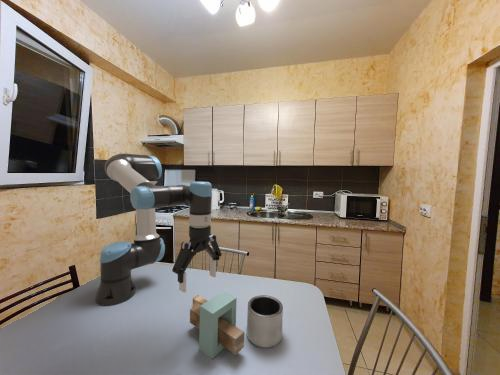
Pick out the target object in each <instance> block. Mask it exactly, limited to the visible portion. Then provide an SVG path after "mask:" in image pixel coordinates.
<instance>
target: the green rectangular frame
mask: <svg viewBox="0 0 500 375" xmlns="http://www.w3.org/2000/svg"><path fill="white" fill-rule="evenodd" d="M219 317H221V318H222V319H224V320H226V321H227V322H229V323H231V324H232V325H234V326H236V327H237V324H236V323H237V297H236V296H234V295H233V294H230V293H227V292H226V291H222V292H220V293H219V294H217V295H216V296H214V297H212V298H211V299H209V300H207V302H206V303H204V304H202V305H201V306H200V329H199V336H198V338H199V341H198V342H199V345H198V347H199V348H198V350H200V351H201V352H202V353H204V354H205V355H206V356H208V357H209V358H210V359H211V360H213V359H214V358H215V357H216V356H217V355H218V354H219V353H221V352H222V351H223V350H224V349H226V348H225V347H223V346H222V345H221V344H219V343H218V342H217V341H218V318H219Z"/></svg>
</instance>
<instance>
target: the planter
mask: <svg viewBox="0 0 500 375" xmlns="http://www.w3.org/2000/svg"><path fill="white" fill-rule="evenodd" d="M283 309H284V306H283V304H282V302H281V301H280V300H279V299H278V298H276V297H273V296H270V295H265V294H263V295H262V294H261V295H256V296H254V297H251V299H249V300H248V302H247V317H246V318H247V319H246V335H247V338H248V339H249V341H250V342H251V344H252V343H253V344H254V345H255V346H258V347H261V348H271V347H272V348H273V347H275V346H276V345H278V344H279V343H280V342H281V340H282V337H283V318H284V317H283V315H284V314H283V313H284V310H283Z"/></svg>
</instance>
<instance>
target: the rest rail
mask: <svg viewBox="0 0 500 375" xmlns="http://www.w3.org/2000/svg"><path fill="white" fill-rule="evenodd" d="M207 301H208V300H207V299H206V298H204V297H202V296H200V295H196V296H194V297H192V308H193V307H195V306H196V305H198V304H199V305H202V304H204V303H206V302H207Z"/></svg>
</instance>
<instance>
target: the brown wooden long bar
mask: <svg viewBox="0 0 500 375" xmlns="http://www.w3.org/2000/svg"><path fill="white" fill-rule="evenodd" d="M200 306H201V305H199V304H198V305H196V306H195V307H193V306H192V307H191V308H189V324H191V325H192V326H194V327H195V328H197V329H198V330H200ZM217 342H218V343H219V344H221V345H222V346H223V347H225V348H224V349H226V350H227V351H229V352H231V353H232V354H233V355H234V356H237V354H238V353H240V352H241V351H242V350H243V349H244V348H245V330H243V329H241V328H239V327H237V325H236V326H234V325H232V324H231V323H229V322H227V321H226V320H224V319H222V318H221V317H219V318H218V341H217Z"/></svg>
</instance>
